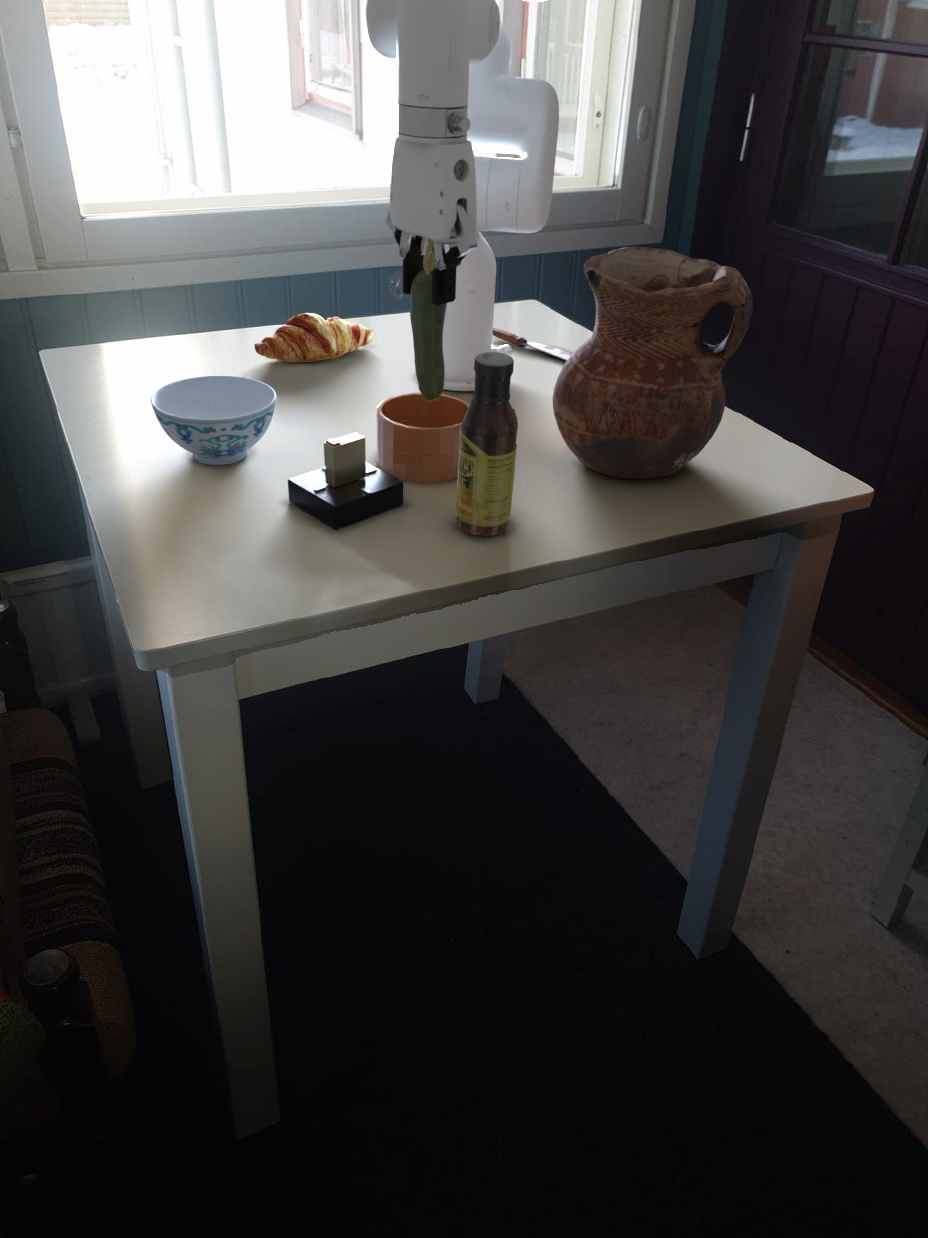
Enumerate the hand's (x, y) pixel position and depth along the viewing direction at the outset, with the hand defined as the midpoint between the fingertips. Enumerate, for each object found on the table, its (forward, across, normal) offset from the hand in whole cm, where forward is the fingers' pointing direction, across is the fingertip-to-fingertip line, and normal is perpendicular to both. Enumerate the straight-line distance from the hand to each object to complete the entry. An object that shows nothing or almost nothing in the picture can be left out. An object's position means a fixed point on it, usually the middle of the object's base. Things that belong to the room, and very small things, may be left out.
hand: (428, 295), depth 112 cm
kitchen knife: (+22, +21, -45) cm, 54 cm away
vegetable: (+14, 0, 0) cm, 14 cm away
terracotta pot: (+21, 0, +1) cm, 21 cm away
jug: (+21, -16, -21) cm, 34 cm away
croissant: (+22, +42, -13) cm, 49 cm away
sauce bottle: (+21, -18, +7) cm, 28 cm away
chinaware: (+21, +18, +20) cm, 34 cm away
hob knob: (+18, -3, +16) cm, 24 cm away
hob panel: (+21, -4, +16) cm, 26 cm away
